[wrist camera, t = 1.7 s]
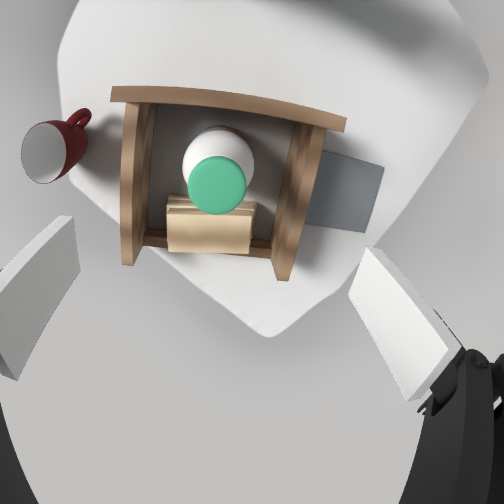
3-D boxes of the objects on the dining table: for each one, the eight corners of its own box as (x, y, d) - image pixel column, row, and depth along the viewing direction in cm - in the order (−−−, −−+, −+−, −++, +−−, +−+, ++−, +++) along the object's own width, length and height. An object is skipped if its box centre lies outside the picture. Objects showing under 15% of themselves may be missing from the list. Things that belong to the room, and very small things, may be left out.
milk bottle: (240, 180, 41) (256, 240, 23) (188, 172, 39) (162, 227, 22) (251, 129, 37) (277, 148, 20) (197, 121, 36) (173, 131, 19)
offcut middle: (169, 199, 39) (166, 205, 37) (252, 203, 41) (254, 209, 39) (170, 234, 42) (167, 241, 40) (248, 237, 43) (250, 245, 41)
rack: (147, 92, 33) (112, 86, 21) (307, 113, 37) (346, 117, 25) (138, 236, 43) (111, 285, 31) (277, 250, 47) (296, 303, 35)
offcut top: (169, 207, 37) (166, 214, 35) (249, 209, 39) (251, 216, 36) (171, 243, 40) (168, 252, 38) (247, 245, 41) (248, 253, 39)
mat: (317, 149, 40) (318, 150, 39) (382, 166, 42) (384, 167, 41) (300, 222, 45) (301, 223, 45) (363, 231, 47) (364, 232, 47)
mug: (80, 93, 31) (45, 93, 22) (116, 119, 34) (87, 124, 25) (49, 150, 34) (13, 164, 25) (82, 175, 37) (51, 195, 29)
